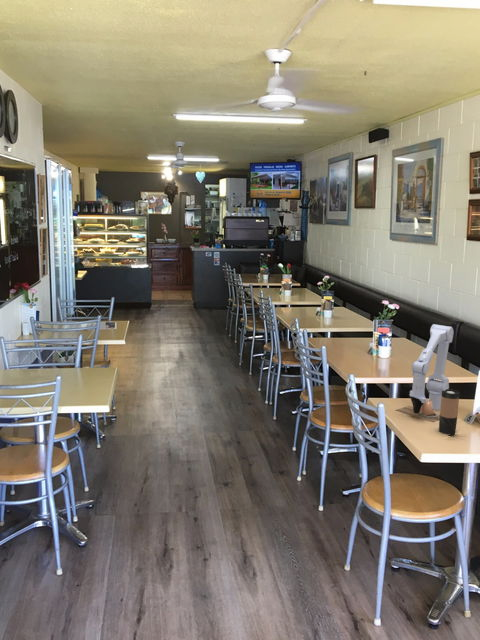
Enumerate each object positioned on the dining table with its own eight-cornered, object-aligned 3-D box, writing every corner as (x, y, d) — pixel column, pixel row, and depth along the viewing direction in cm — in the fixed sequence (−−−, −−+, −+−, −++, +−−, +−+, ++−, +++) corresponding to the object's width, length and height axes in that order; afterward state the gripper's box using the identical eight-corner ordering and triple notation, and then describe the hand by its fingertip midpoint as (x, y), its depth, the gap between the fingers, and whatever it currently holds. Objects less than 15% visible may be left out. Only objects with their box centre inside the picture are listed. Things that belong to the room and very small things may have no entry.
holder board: (408, 407, 317) (408, 403, 316) (446, 419, 300) (447, 415, 300) (394, 412, 309) (394, 407, 309) (433, 424, 292) (433, 419, 292)
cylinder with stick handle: (432, 414, 303) (430, 400, 304) (435, 414, 298) (433, 400, 299) (411, 416, 303) (409, 403, 304) (414, 416, 298) (412, 403, 299)
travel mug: (456, 437, 276) (460, 394, 272) (439, 435, 277) (442, 392, 274) (454, 431, 283) (458, 389, 280) (437, 429, 285) (440, 388, 281)
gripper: (404, 381, 303) (402, 408, 306) (417, 390, 289) (414, 417, 292) (418, 381, 304) (416, 408, 307) (431, 390, 290) (429, 417, 293)
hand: (416, 412), depth 299 cm, fingers closed
